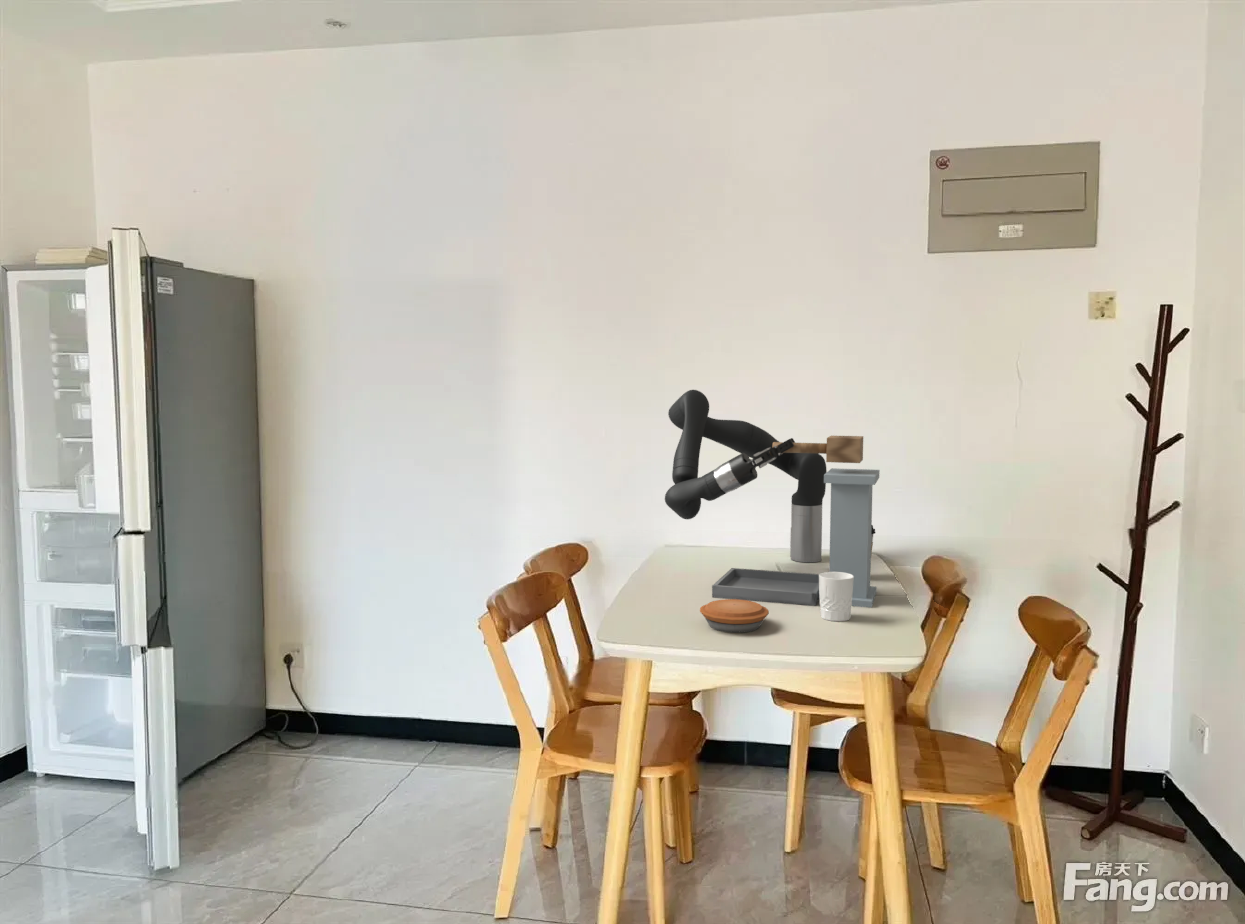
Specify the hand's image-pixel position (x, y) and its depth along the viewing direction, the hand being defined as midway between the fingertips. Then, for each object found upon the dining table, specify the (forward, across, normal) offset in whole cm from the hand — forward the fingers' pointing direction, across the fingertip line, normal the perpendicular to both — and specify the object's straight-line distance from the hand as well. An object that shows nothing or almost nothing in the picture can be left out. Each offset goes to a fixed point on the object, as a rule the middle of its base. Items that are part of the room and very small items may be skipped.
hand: (793, 441), depth 222 cm
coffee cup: (-7, +23, +42) cm, 48 cm away
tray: (-24, 0, +32) cm, 40 cm away
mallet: (+3, 0, +7) cm, 7 cm away
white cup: (-8, -20, +41) cm, 46 cm away
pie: (-26, -34, +31) cm, 53 cm away
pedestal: (-7, 0, +41) cm, 42 cm away
